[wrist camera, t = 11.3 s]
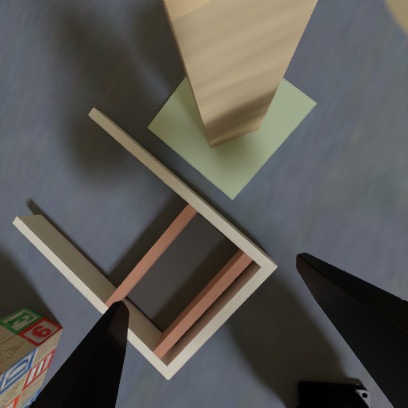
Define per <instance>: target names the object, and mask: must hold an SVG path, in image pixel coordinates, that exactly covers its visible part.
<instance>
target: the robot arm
mask: <svg viewBox="0 0 408 408" xmlns="http://www.w3.org/2000/svg"><path fill="white" fill-rule="evenodd" d="M296 268H297V270H298V272H299V274H300V275H301V277H302V279H303V280H304V282H305V284H306V285H307V287H308V289H309V290H310V292H311V294H312V295H313V297H314V299H315V300H316V301H317V303H318V304H319V306H320V307H321V308H322V310H323V311H324V313H325V314H326V315H327V317H328V318H329V319H330V321H331V322H332V323H333V325H334V326H335V328H336V329H337V330H338V332H339V333H340V334H341V336H342V337H343V338H344V340H345V341H346V343H347V344H348V345H349V347H350V348H351V349H352V351H353V352H354V353H355V355H356V356H357V358H358V359H359V360H360V362H361V363H362V364H363V366H364V367H365V368H366V370H367V371H368V373H369V374H370V375H371V377H372V378H373V379H374V381H375V382H376V383H377V385H378V386H379V388H380V389H381V390H382V392H383V393H384V394H385V396H386V397H387V398H388V400H389V401H390V403H391V404H392V405H393V407H394V408H408V301H406V300H402V299H401V298H399V297H397V296H395V295H393V294H391V293H389V292H387V291H385V290H382V289H380V288H378V287H376V286H374V285H372V284H370V283H368V282H366V281H364V280H362V279H360V278H358V277H355V276H353V275H351V274H349V273H347V272H345V271H343V270H341V269H339V268H337V267H335V266H333V265H331V264H328V263H326V262H324V261H322V260H320V259H318V258H316V257H314V256H312V255H310V254H308V253H300V254H297V257H296ZM129 316H130V313H129V309H128V308H127V306H126V305H125V303H124V302H123V301H122V300H120V301H116V302H114V303H112V304H111V306H110V307H109V308H108V309H107V310H106V312H105V313H104V314H103V315H102V317H101V318H100V319H99V320H98V322H97V323H96V324H95V325H94V327H93V328H92V329H91V330H90V332H89V333H88V334H87V335H86V337H85V338H84V339H83V340H82V341H81V343H80V344H79V345H78V346H77V348H76V349H75V350H74V351H73V353H72V354H71V355H70V356H69V358H68V359H67V360H66V361H65V363H64V364H63V365H62V366H61V367H60V369H59V370H58V371H57V372H56V374H55V375H54V376H53V377H52V379H51V380H50V381H49V382H48V384H47V385H46V386H45V387H44V389H43V390H42V391H41V392H40V394H39V395H38V396H37V397H36V399H35V401H33V402H32V403H31V405H30V406H29V407H28V408H115V405H116V400H117V395H118V389H119V384H120V379H121V374H122V369H123V363H124V358H125V353H126V345H127V336H128V326H129ZM297 389H298V404H299V405H297V407H296V408H371V396H370V393H369V392H368V390H367V389H366V388H365V387H364V386H356V385H341V384H326V383H311V382H300V383H298V385H297Z"/></svg>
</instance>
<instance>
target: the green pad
mask: <svg viewBox="0 0 408 408" xmlns="http://www.w3.org/2000/svg"><path fill="white" fill-rule="evenodd" d="M316 104H317V103H316V102H315V101H313V100H312V99H311V98H309V97H308V96H307V95H305V94H304V93H303V92H301V91H300V90H299V89H297V88H296V87H295V86H293V85H292V84H291V83H289V82H288V81H286V80H285V79H284V78H282V80H281V82H280V85H279V87H278V89H277V91H276V93H275V96H274V98H273V100H272V102H271V104H270V106H269V109H268V111H267V113H266V115H265V117H264V120H263V122H262V124H261V126H260V128H259V130H257V131H255V132H252V133H250V134H247V135H245V136H242V137H239V138H237V139H234V140H232V141H229V142H227V143H224V144H222V145H219V146H217V147H214V148H211V147H210V144H209V141H208V138H207V135H206V132H205V130H204V127H203V124H202V121H201V118H200V115H199V112H198V109H197V107H196V104H195V101H194V98H193V95H192V92H191V89H190V85H189V82H188V79H187V76H186V77H185V78H184V80H183V81H182V82H181V84H180V85H179V86H178V88H177V89H176V90H175V92H174V93H173V94H172V96H171V97H170V98H169V100H168V101H167V102H166V104H165V105H164V106H163V108H162V109H161V110H160V111H159V113H158V114H157V115H156V117H155V118H154V119H153V121H152V122H151V123H150V125H149V126H148V127H147V128H148V129H149V130H150V131H152V132H153V133H154V134H155V135H156V136H158V137H159V138H160V139H161V140H162V141H163V142H165V143H166V144H167V145H168V146H169V147H170V148H172V149H173V150H174V151H175V152H176V153H178V154H179V155H180V156H181V157H182V158H183V159H185V160H186V161H187V162H188V163H189V164H191V165H192V166H193V167H194V168H195V169H196V170H198V171H199V172H200V173H201V174H202V175H203V176H205V177H206V178H207V179H208V180H209V181H211V182H212V183H213V184H214V185H215V186H216V187H218V188H219V189H220V190H221V191H222V192H224V193H225V194H226V195H227V196H228V197H229V198H231V199H232V200H233V199H234V198H235V197H236V196H237V194H238V193H239V192H240V191H241V190H242V189H243V187H244V186H245V185H246V184H247V183H248V182H249V181H250V179H251V178H252V177H253V176H254V175H255V174H256V173H257V171H258V170H259V169H260V168H261V167H262V166H263V165H264V163H265V162H266V161H267V160H268V159H269V158H270V157H271V155H272V154H273V153H274V152H275V151H276V150H277V149H278V147H279V146H280V145H281V144H282V143H283V142H284V140H285V139H286V138H287V137H288V136H289V135H290V134H291V132H292V131H293V130H294V129H295V128H296V127H297V126H298V124H299V123H300V122H301V121H302V120H303V119H304V118H305V116H306V115H307V114H308V113H309V112H310V111H311V110H312V108H313V107H314V106H315V105H316Z"/></svg>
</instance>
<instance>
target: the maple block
mask: <svg viewBox="0 0 408 408" xmlns="http://www.w3.org/2000/svg"><path fill="white" fill-rule="evenodd" d="M317 1H318V0H162V3H163V6H164V9H165V12H166V16H167V19H168V22H169V25H170V28H171V31H172V34H173V37H174V40H175V43H176V46H177V49H178V52H179V55H180V58H181V61H182V64H183V67H184V70H185V73H186V76H187V79H188V82H189V85H190V89H191V92H192V95H193V98H194V101H195V104H196V107H197V109H198V112H199V115H200V118H201V121H202V124H203V127H204V130H205V132H206V135H207V138H208V141H209V144H210V147H211V148H214V147H217V146H219V145H222V144H224V143H227V142H229V141H232V140H234V139H237V138H239V137H242V136H245V135H247V134H250V133H252V132H255V131H257V130H259V128H260V126H261V124H262V122H263V120H264V117H265V115H266V113H267V111H268V109H269V106H270V104H271V102H272V100H273V98H274V96H275V93H276V91H277V89H278V87H279V85H280V82H281V80H282V78H283V76H284V74H285V71H286V69H287V67H288V65H289V63H290V60H291V58H292V56H293V54H294V52H295V50H296V47H297V45H298V43H299V41H300V39H301V36H302V34H303V32H304V30H305V28H306V25H307V23H308V21H309V19H310V17H311V15H312V12H313V10H314V8H315V6H316V4H317Z"/></svg>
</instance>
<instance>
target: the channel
mask: <svg viewBox="0 0 408 408" xmlns="http://www.w3.org/2000/svg"><path fill="white" fill-rule="evenodd" d="M88 116H90V117H91V118H92V119H93V120H94V121H95V122H96V123H98V124H99V125H100V126H101V127H102V128H103V129H104V130H106V131H107V132H108V133H109V134H110V135H111V136H112V137H114V138H115V139H116V140H117V141H118V142H119V143H120V144H121V145H123V146H124V147H125V148H126V149H127V150H128V151H129V152H131V153H132V154H133V155H134V156H135V157H136V158H137V159H139V160H140V161H141V162H142V163H143V164H144V165H145V166H147V167H148V168H149V169H150V170H151V171H152V172H153V173H155V174H156V175H157V176H158V177H159V178H160V179H161V180H163V181H164V182H165V183H166V184H167V185H168V186H169V187H171V188H172V189H173V190H174V191H175V192H176V193H177V194H179V195H180V196H181V197H182V198H183V199H184V200H185V201H187V202H188V203H189V204H190V205H191V206H192V207H193V208H195V209H196V210H197V211H198V212H199V213H200V214H201V215H203V216H204V217H205V218H206V219H207V220H208V221H209V222H211V223H212V224H213V225H214V226H215V227H216V228H217V229H219V230H220V231H221V232H222V233H223V234H224V235H225V236H227V237H228V238H229V239H230V240H231V241H232V242H233V243H235V244H236V245H237V246H238V247H239V248H240V249H241V250H243V251H244V252H245V253H246V254H247V255H248V256H249V257H251V258H252V259H253V260H254V262H253V263H252V264H251V265H250V266H249V267H248V268H247V269H246V270H245V271H244V272H243V273H242V274H241V275H240V276H239V278H238V279H237V280H236V281H235V282H234V283H233V284H232V285H231V286H230V287H229V288H228V289H227V290H226V291H225V292H224V294H223V295H222V296H221V297H220V298H219V299H218V300H217V301H216V302H215V303H214V304H213V305H212V306H211V307H210V308H209V309H208V311H207V312H206V313H205V314H204V315H203V316H202V317H201V318H200V319H199V320H198V321H197V322H196V323H195V324H194V325H193V327H192V328H191V329H190V330H189V331H188V332H187V333H186V334H185V335H184V336H183V337H182V338H181V339H180V340H179V341H178V343H177V344H176V345H173V346H172V347H171V348H170V349H169V350H168V351H167V352H166V353H165V355H164V356H163V357H162V358H161V359H159V358H158V357H157V356H156V355H155V354H154V353H153V351H154V349H155V347H156V344H157V342H158V340H159V338H160V336H161V334H162V332H160V331H159V330H158V329H157V328H156V327H155V326H154V325H153V324H152V323H151V322H150V321H149V320H148V319H147V318H146V317H145V316H144V315H143V314H142V313H141V312H140V311H139V310H138V309H137V308H136V307H135V306H134V305H133V304H132V303H131V302H130V301H129V300H128V299H127V298H126V297H125V298H124V299H123V300H122V301H123V302H124V303H125V305H126V306H127V308H128V309H129V313H130V316H129V326H128V336H127V339H128V340H129V341H130V342H131V343H132V344H133V345H134V346H135V347H136V348H137V349H138V350H139V351H140V352H141V353H142V354H143V355H144V356H145V357H146V358H147V359H148V361H149V362H150V363H151V364H152V365H153V366H154V367H155V368H156V369H157V370H158V371H159V372H160V373H161V374H162V375H163V376H164V377H165V378H166V379H167V380H169V379H170V378H171V377H172V376H173V375H174V374H175V373H176V372H177V371H178V370H179V369H180V368H181V367H182V366H183V365H184V364H185V363H186V362H187V360H188V359H189V358H190V357H191V356H192V355H193V354H194V353H195V352H196V351H197V350H198V349H199V348H200V347H201V346H202V345H203V344H204V343H205V342H206V341H207V340H208V339H209V338H210V337H211V336H212V335H213V334H214V332H215V331H216V330H217V329H218V328H219V327H220V326H221V325H222V324H223V323H224V322H225V321H226V320H227V319H228V318H229V317H230V316H231V315H232V314H233V313H234V312H235V311H236V310H237V309H238V308H239V307H240V306H241V305H242V303H243V302H244V301H245V300H246V299H247V298H248V297H249V296H250V295H251V294H252V293H253V292H254V291H255V290H256V289H257V288H258V287H259V286H260V285H261V284H262V283H263V282H264V281H265V280H266V279H267V278H268V277H269V275H270V274H271V273H272V272H273V271H274V270H275V269H276V268H277V265H276V264H275V263H274V261H273V260H272V259H271V257H270V256H268V255H267V254H266V253H265V252H264V251H263V250H261V249H260V248H259V247H258V246H257V245H256V244H254V243H253V242H252V241H251V240H250V239H249V238H248V237H246V236H245V235H244V234H243V233H242V232H241V231H239V230H238V229H237V228H236V227H235V226H234V225H232V224H231V223H230V222H229V221H228V220H227V219H226V218H224V217H223V216H222V215H221V214H220V213H219V212H217V211H216V210H215V209H214V208H213V207H212V206H211V205H209V204H208V203H207V202H206V201H205V200H204V199H202V198H201V197H200V196H199V195H198V194H197V193H195V192H194V191H193V190H192V189H191V188H190V187H189V186H187V185H186V184H185V183H184V182H183V181H182V180H180V179H179V178H178V177H177V176H176V175H175V174H173V173H172V172H171V171H170V170H169V169H168V168H167V167H165V166H164V165H163V164H162V163H161V162H160V161H158V160H157V159H156V158H155V157H154V156H153V155H152V154H150V153H149V152H148V151H147V150H146V149H145V148H143V147H142V146H141V145H140V144H139V143H138V142H136V141H135V140H134V139H133V138H132V137H131V136H130V135H128V134H127V133H126V132H125V131H124V130H123V129H121V128H120V127H119V126H118V125H117V124H116V123H115V122H113V121H112V120H111V119H110V118H108V117H107V116H105V115H104V114H103V113H101V112H100V111H98V110H97V109H95V108H94V107H93V109H92V110H91V112H90V113H89V115H88ZM13 224H14V225H15V226H16V227H17V228H18V229H19V230H20V231H21V232H22V233H23V234H24V235H25V236H26V237H27V238H28V239H29V240H30V241H31V242H32V243H33V244H34V245H35V246H36V247H37V248H38V249H39V250H40V251H41V252H42V253H43V254H44V255H45V256H46V257H47V258H48V259H49V260H50V262H51V263H52V264H53V265H54V266H55V267H56V268H57V269H58V270H59V271H60V272H61V273H62V274H63V275H64V276H65V277H66V278H67V279H68V280H69V281H70V282H71V283H72V284H73V285H74V286H75V287H76V288H77V289H78V290H79V291H80V292H81V293H82V294H83V295H84V296H85V297H86V298H87V299H88V300H89V301H90V302H91V303H92V304H93V305H94V306H95V307H96V308H97V309H98V310H99V311H100V312H101V313H102V314H104V313H105V312H106V310H107V309H108V307H107V306H106V305H105V303H106V302H107V300H108V299H109V298H110V297H111V296H112V294H113V293H114V292H115V291H116V290H117V288H116V287H115V286H114V285H113V284H112V283H111V282H110V281H109V280H108V279H107V278H105V277H104V276H103V275H102V274H101V273H100V272H99V271H98V270H97V269H96V268H95V267H94V266H93V265H92V264H91V263H90V262H89V261H88V260H87V259H86V258H85V257H84V256H83V255H82V254H81V253H80V252H79V251H78V250H77V249H76V248H75V247H74V246H73V245H72V244H71V243H70V242H69V241H68V240H67V239H66V238H65V237H64V236H63V235H62V234H61V233H60V232H59V231H58V230H57V229H56V228H55V227H54V226H53V225H52V224H50V223H49V222H48V221H47V220H46V219H45V218H44V217H43V216H42V215H29V216H17V217H16V219H15V220H14V222H13Z"/></svg>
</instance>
